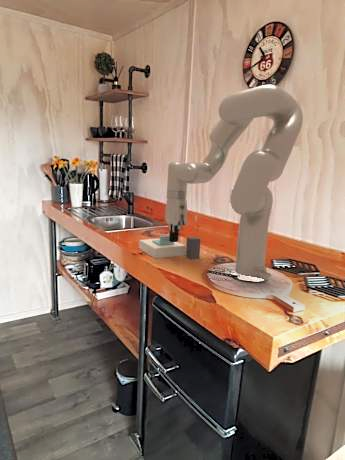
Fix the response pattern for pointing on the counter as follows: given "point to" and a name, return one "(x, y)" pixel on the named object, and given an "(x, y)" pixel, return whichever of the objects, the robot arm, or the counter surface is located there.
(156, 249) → the socket
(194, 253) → the dark grey upright block
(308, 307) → the counter surface
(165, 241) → the shutter
